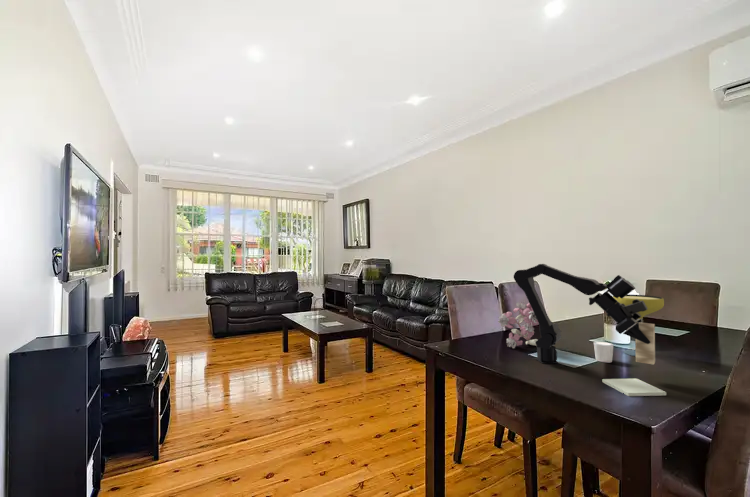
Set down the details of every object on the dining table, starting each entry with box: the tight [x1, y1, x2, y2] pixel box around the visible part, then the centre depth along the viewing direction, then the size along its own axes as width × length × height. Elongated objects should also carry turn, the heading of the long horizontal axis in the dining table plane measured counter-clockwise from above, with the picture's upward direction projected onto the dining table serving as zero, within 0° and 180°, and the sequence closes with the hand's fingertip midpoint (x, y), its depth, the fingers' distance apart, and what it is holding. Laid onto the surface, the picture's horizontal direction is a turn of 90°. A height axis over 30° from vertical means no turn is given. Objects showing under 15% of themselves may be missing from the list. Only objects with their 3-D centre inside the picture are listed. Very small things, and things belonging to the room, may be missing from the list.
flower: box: [497, 297, 542, 349], centre depth 170 cm, size 20×22×25 cm
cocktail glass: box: [612, 294, 665, 357], centre depth 154 cm, size 18×18×25 cm
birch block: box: [634, 322, 656, 365], centre depth 123 cm, size 5×5×13 cm
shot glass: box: [593, 341, 614, 363], centre depth 146 cm, size 7×7×7 cm
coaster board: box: [601, 378, 667, 397], centre depth 115 cm, size 12×12×1 cm
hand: (650, 341), depth 122 cm, fingers closed on birch block, 5 cm apart
